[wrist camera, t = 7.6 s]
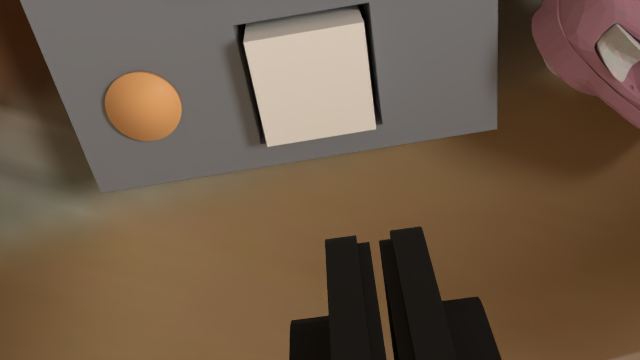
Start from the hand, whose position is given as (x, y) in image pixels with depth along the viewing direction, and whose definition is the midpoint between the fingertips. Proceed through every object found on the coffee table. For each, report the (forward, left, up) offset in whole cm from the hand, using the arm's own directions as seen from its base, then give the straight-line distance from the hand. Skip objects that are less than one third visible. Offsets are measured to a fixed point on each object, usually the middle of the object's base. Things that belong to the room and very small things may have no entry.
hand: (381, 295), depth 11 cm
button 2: (+1, 0, -12) cm, 12 cm away
